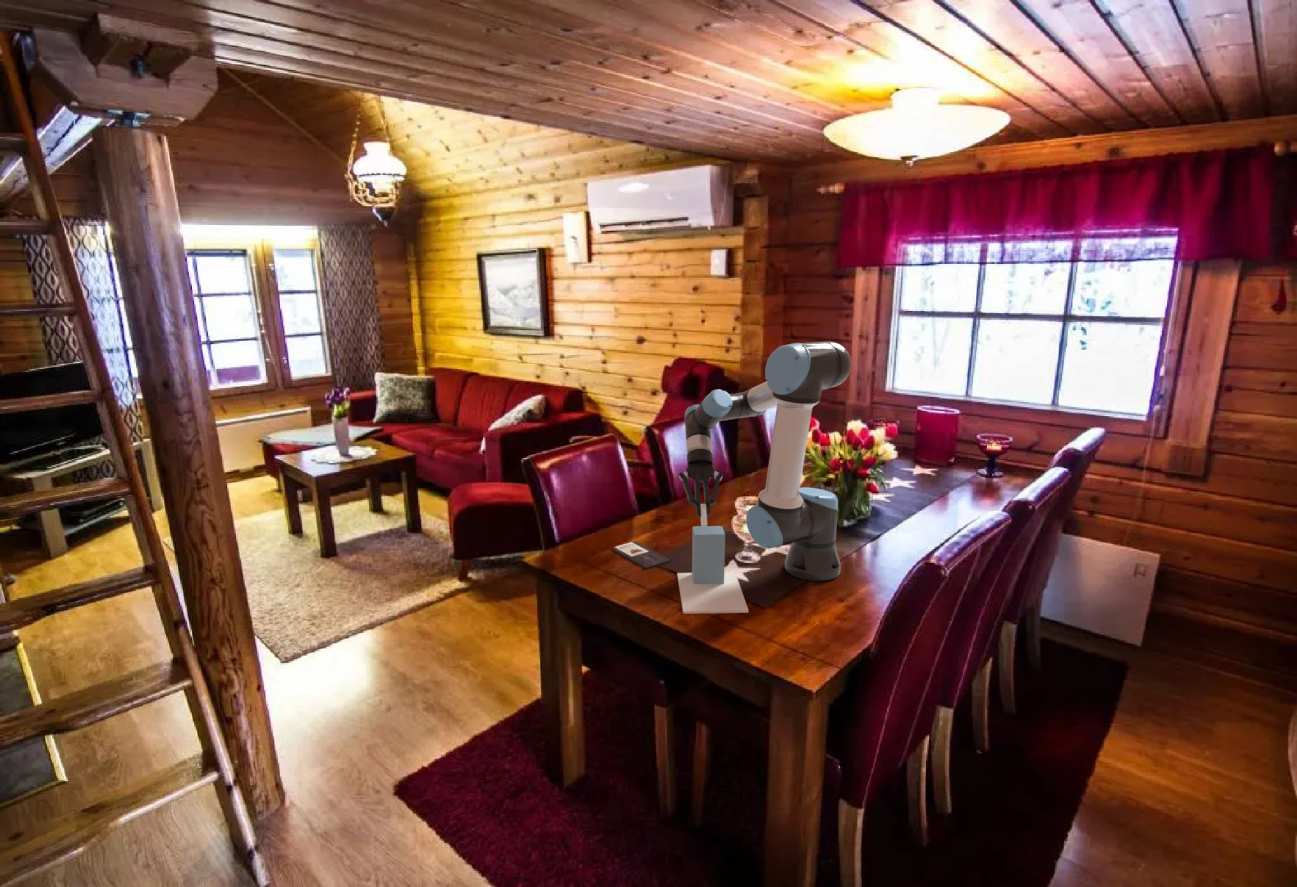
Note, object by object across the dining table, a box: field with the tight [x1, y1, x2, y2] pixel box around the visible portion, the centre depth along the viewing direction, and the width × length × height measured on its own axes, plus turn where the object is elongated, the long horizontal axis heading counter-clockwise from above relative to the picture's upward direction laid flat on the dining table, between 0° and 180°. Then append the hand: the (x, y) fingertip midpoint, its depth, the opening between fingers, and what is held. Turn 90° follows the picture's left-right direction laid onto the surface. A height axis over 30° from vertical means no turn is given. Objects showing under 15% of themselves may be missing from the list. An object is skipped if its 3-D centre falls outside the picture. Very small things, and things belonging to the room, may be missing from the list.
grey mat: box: [676, 571, 749, 615], centre depth 177 cm, size 16×22×1 cm
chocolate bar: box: [610, 540, 672, 570], centre depth 200 cm, size 9×1×18 cm
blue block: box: [691, 525, 726, 584], centre depth 182 cm, size 8×6×14 cm
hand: (704, 527), depth 189 cm, fingers closed
